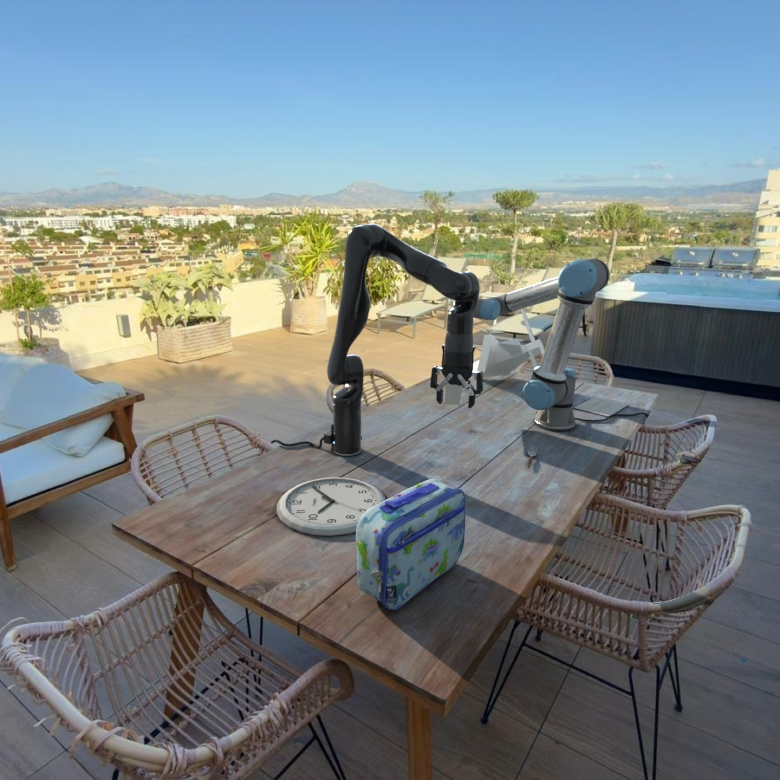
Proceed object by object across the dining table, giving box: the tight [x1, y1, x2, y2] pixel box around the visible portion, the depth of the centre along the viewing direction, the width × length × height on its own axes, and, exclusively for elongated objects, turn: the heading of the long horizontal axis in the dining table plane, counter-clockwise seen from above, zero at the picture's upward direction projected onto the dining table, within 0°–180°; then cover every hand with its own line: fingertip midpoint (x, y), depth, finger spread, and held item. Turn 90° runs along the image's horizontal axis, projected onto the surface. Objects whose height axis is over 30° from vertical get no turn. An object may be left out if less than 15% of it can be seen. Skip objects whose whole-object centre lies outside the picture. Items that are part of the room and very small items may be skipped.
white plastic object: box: [472, 308, 545, 379], centre depth 256 cm, size 37×45×31 cm
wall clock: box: [276, 476, 387, 537], centre depth 142 cm, size 30×2×30 cm
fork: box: [527, 445, 537, 469], centre depth 172 cm, size 3×16×2 cm, turn 160°
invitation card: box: [573, 396, 629, 417], centre depth 226 cm, size 21×1×15 cm
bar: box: [444, 383, 464, 406], centre depth 206 cm, size 25×5×9 cm, turn 169°
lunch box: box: [355, 478, 466, 611], centre depth 110 cm, size 26×11×21 cm, turn 134°
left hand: (455, 405), depth 145 cm, fingers open, 8 cm apart
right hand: (456, 386), depth 215 cm, fingers closed on bar, 5 cm apart
